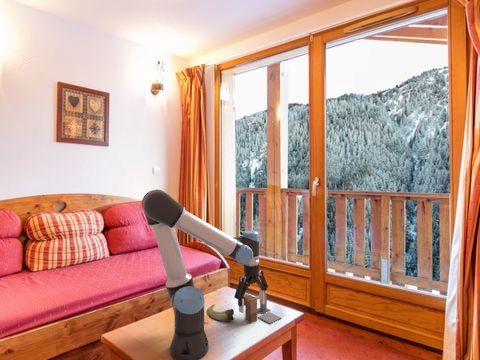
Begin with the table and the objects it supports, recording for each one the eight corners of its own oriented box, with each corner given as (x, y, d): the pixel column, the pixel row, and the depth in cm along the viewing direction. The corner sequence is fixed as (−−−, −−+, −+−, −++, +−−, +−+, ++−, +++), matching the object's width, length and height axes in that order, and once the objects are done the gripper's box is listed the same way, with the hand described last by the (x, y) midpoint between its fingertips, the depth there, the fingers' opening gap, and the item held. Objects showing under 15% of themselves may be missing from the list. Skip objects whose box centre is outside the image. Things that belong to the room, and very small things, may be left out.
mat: (270, 324, 138) (270, 323, 138) (257, 317, 144) (257, 316, 144) (281, 318, 144) (281, 317, 144) (269, 312, 150) (269, 311, 150)
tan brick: (257, 320, 142) (257, 298, 142) (251, 323, 139) (251, 300, 139) (246, 314, 148) (246, 293, 148) (240, 317, 145) (240, 295, 145)
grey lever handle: (244, 322, 140) (244, 301, 140) (237, 318, 144) (237, 297, 143) (270, 310, 152) (270, 291, 152) (263, 307, 156) (263, 288, 155)
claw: (241, 318, 145) (241, 311, 145) (226, 326, 137) (226, 319, 137) (213, 306, 158) (213, 300, 158) (198, 313, 151) (198, 307, 150)
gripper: (236, 272, 130) (237, 319, 131) (274, 259, 147) (275, 302, 148) (226, 267, 136) (226, 313, 137) (263, 256, 153) (264, 297, 153)
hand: (252, 307), depth 142 cm, fingers open, 13 cm apart
